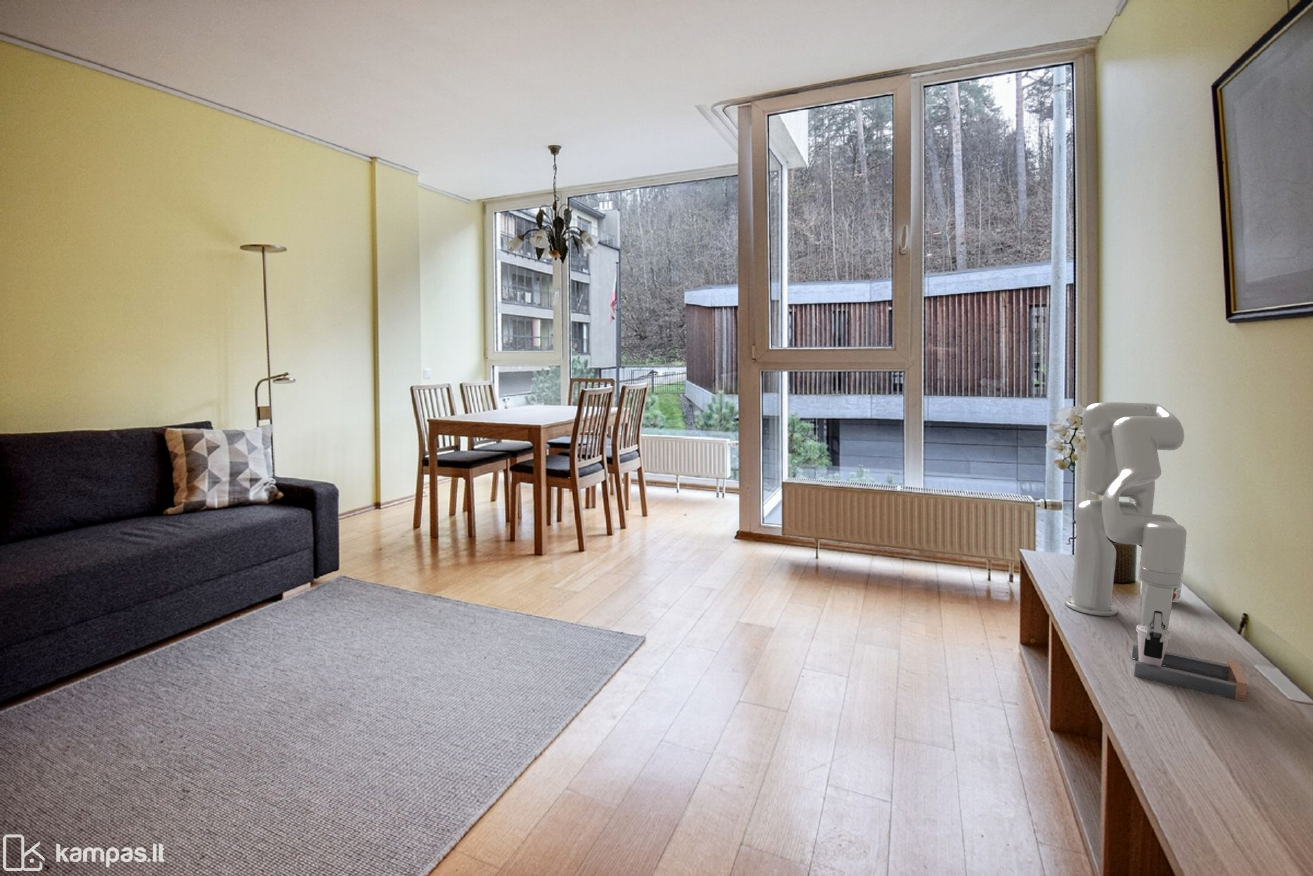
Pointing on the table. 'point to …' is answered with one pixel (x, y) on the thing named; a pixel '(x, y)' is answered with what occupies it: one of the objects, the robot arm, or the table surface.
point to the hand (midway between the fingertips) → (1151, 650)
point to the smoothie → (1141, 642)
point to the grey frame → (1230, 672)
